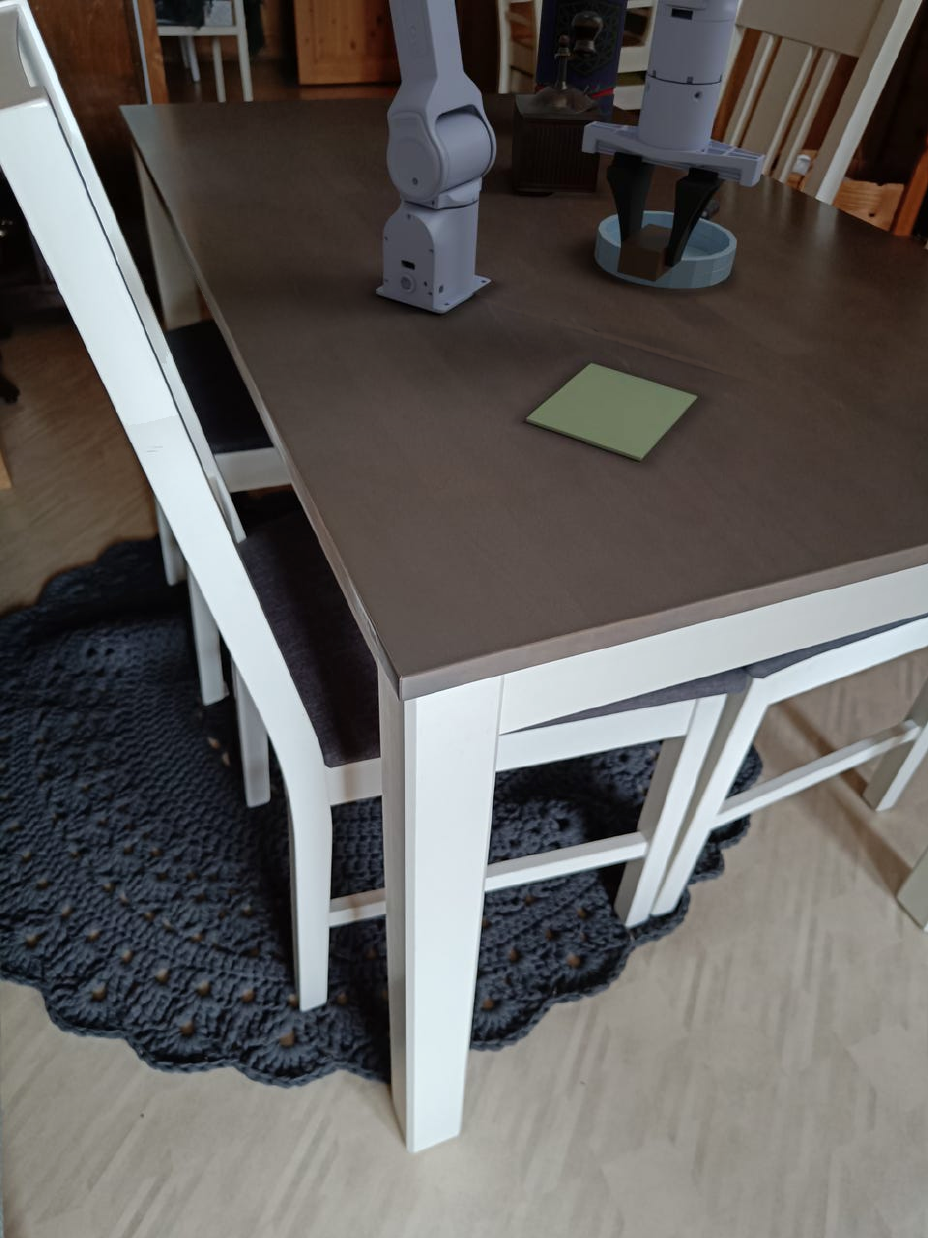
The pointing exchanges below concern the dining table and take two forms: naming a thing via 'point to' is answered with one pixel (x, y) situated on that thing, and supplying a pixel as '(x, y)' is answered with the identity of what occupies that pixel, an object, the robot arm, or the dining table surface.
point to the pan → (700, 260)
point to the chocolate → (645, 253)
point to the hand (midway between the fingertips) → (650, 257)
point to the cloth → (613, 410)
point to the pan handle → (710, 210)
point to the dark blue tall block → (557, 21)
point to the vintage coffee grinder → (557, 126)
